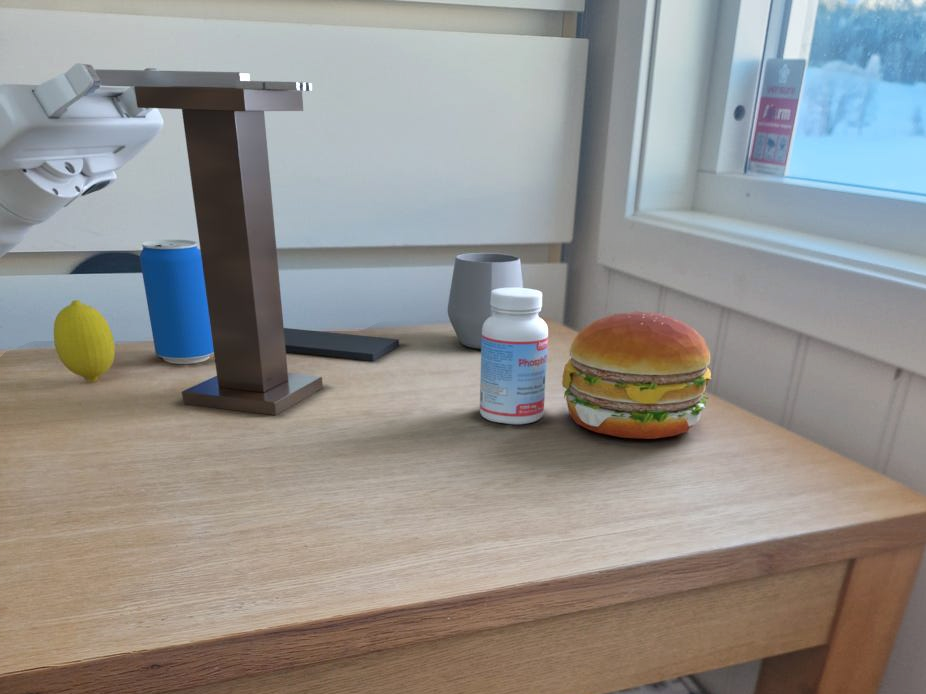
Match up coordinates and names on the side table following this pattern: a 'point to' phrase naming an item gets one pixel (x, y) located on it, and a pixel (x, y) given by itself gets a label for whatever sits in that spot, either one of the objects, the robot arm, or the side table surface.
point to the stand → (237, 244)
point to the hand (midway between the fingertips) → (126, 74)
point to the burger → (637, 376)
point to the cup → (478, 291)
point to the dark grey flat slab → (337, 344)
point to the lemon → (84, 340)
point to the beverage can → (177, 300)
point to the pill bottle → (513, 357)
